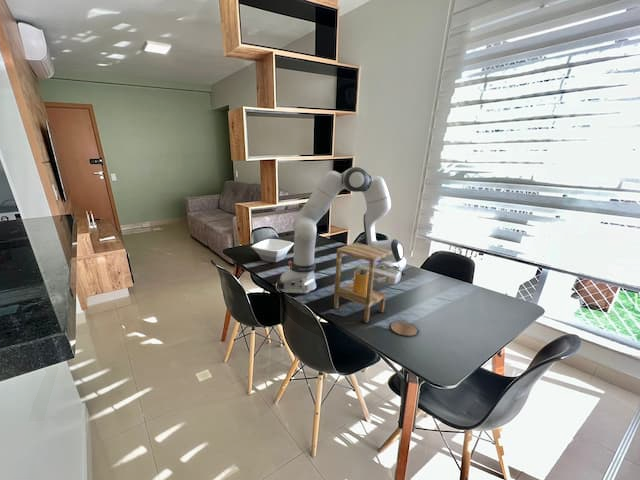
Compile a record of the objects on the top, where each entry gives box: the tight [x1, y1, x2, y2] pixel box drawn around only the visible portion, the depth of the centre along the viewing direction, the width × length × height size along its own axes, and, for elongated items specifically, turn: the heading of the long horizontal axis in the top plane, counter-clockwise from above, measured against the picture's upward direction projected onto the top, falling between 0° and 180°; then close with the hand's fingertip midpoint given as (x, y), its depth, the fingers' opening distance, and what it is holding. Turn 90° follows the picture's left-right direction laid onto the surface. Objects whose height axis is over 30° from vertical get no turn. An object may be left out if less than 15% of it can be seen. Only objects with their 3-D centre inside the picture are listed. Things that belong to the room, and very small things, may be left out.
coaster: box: [390, 321, 418, 337], centre depth 119 cm, size 10×10×1 cm
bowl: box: [250, 238, 294, 263], centre depth 201 cm, size 24×25×10 cm
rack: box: [333, 242, 392, 324], centre depth 129 cm, size 14×18×30 cm
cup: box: [352, 269, 369, 296], centre depth 129 cm, size 7×7×10 cm
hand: (368, 277), depth 133 cm, fingers open, 8 cm apart
